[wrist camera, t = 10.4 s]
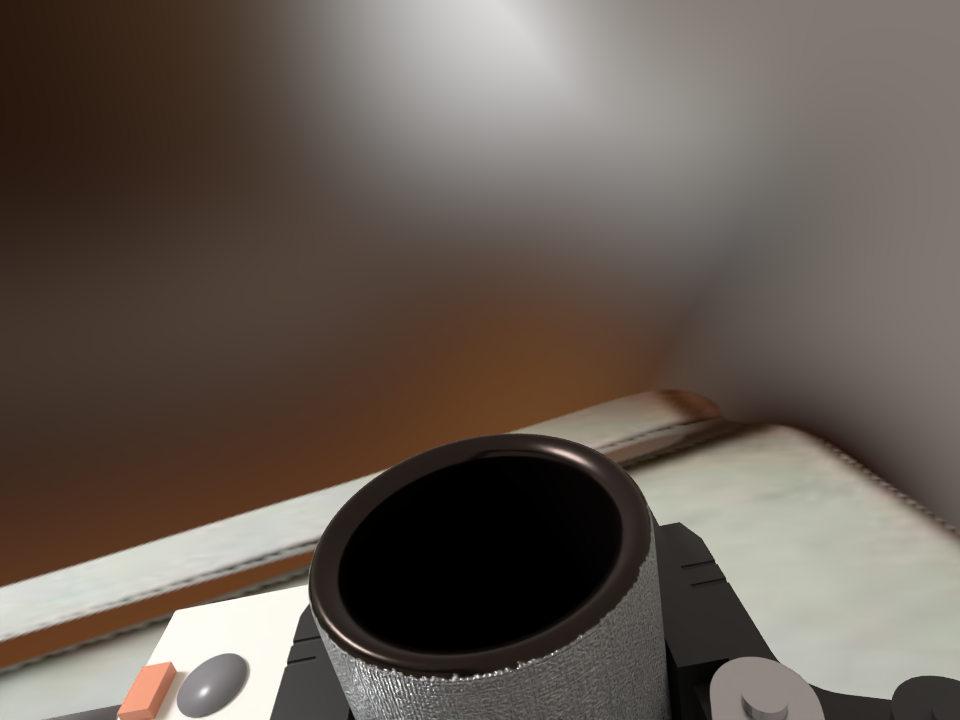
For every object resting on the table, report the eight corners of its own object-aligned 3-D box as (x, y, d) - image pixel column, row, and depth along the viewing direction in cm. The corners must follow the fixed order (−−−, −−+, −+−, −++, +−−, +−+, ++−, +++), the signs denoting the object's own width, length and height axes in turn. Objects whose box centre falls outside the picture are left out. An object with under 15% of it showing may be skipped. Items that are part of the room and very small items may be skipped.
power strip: (-126, 899, 19) (-168, 863, 18) (45, 662, 27) (22, 630, 27) (692, 747, 19) (689, 702, 18) (615, 552, 27) (611, 515, 26)
